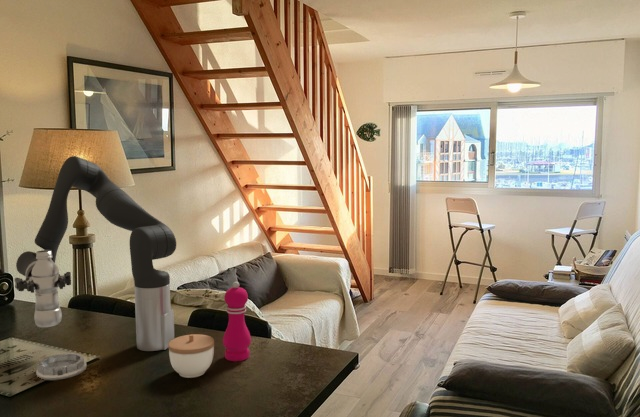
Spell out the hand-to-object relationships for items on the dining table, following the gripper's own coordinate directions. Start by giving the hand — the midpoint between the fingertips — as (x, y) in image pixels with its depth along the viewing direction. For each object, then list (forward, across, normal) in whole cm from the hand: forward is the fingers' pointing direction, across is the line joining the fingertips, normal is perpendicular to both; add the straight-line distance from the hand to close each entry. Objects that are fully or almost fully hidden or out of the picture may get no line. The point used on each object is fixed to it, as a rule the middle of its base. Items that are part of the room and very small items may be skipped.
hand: (47, 286), depth 136 cm
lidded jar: (+30, +28, +19) cm, 45 cm away
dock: (+11, +1, +19) cm, 22 cm away
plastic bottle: (-2, 0, +11) cm, 11 cm away
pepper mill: (+26, +41, +19) cm, 52 cm away
